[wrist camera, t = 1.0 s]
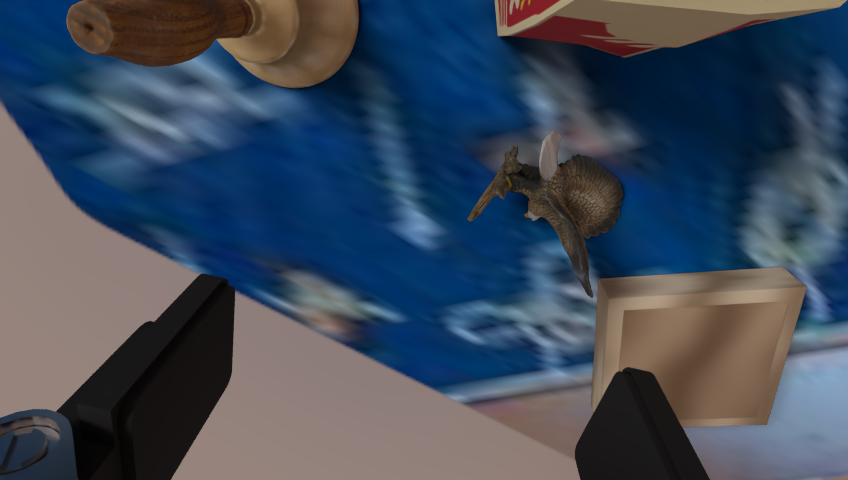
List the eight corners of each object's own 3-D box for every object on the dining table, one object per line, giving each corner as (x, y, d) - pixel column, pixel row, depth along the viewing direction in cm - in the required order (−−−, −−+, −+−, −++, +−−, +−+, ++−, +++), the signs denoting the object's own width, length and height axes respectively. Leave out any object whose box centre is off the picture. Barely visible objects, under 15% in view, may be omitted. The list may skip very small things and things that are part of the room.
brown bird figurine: (454, 229, 31) (570, 303, 31) (476, 208, 24) (626, 305, 24) (514, 136, 32) (625, 208, 32) (551, 89, 25) (694, 182, 25)
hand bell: (368, 83, 28) (277, 163, 14) (234, 91, 29) (14, 177, 14) (348, -85, 24) (195, -213, 10) (195, -70, 25) (-152, -169, 11)
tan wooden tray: (782, 266, 32) (809, 288, 29) (748, 399, 37) (768, 426, 34) (598, 278, 33) (610, 300, 30) (591, 405, 38) (600, 431, 36)
